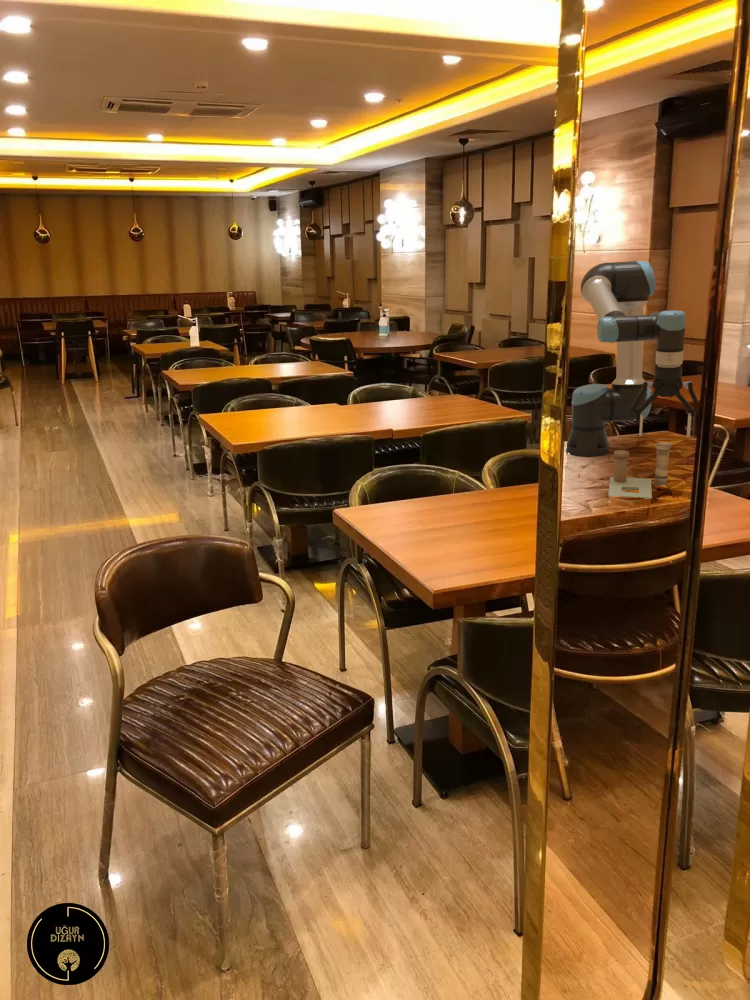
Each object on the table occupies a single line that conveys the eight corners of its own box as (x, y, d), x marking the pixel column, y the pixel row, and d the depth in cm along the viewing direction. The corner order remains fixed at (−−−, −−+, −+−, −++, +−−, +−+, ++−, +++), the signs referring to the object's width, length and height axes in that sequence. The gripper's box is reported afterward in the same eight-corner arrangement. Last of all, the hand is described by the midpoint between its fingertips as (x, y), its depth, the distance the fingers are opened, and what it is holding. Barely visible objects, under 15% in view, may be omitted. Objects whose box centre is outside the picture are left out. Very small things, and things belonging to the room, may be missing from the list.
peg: (652, 485, 254) (655, 442, 249) (667, 486, 253) (670, 442, 248) (653, 490, 250) (655, 446, 245) (668, 490, 249) (671, 446, 244)
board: (609, 489, 253) (611, 449, 249) (650, 491, 250) (652, 450, 245) (607, 508, 238) (609, 465, 234) (651, 510, 235) (653, 467, 230)
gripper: (624, 367, 239) (620, 437, 246) (715, 367, 231) (709, 439, 239) (624, 362, 245) (621, 431, 253) (713, 362, 238) (707, 432, 245)
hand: (664, 435), depth 246 cm, fingers open, 13 cm apart
